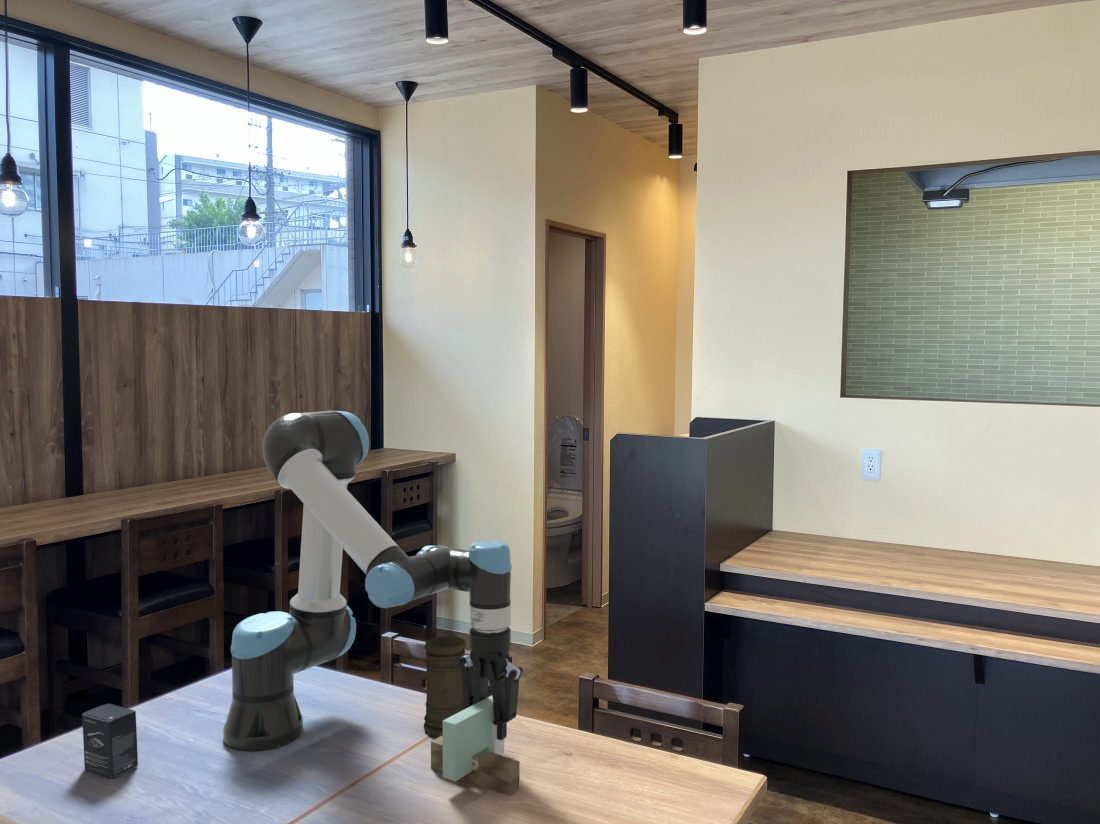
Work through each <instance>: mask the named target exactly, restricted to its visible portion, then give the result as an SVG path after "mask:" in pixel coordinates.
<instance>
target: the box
mask: <svg viewBox="0 0 1100 824" xmlns="http://www.w3.org/2000/svg"><path fill="white" fill-rule="evenodd" d="M81 718H82V719H81V720H82V738H83V739H82V741H83V759H84V760H83V761H84V762H83V763H84V770H86V771H89V772H91V773H95V774H96V775H97V774H98V775H101V776H103V777H107V778H108V779H113V778H116V777H117V778H118V777H119V776H121V775H123V774H125V773H127V772H130V771H131V770H133V769H136V768H137V767H138V765H139V762H138V761H139V760H138V759H139V758H138V756H139V755H138V737H137V736H138V735H137V733H138V732H137V731H138V730H137V711H136V710H134V709H130V708H126V707H123V706H119V705H116V704H112V703H106V704H103V705H102V704H101V705H100V706H97V707H94V708H91V709H90V710H86V711H85V712H83V713H82V714H81Z"/></svg>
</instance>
